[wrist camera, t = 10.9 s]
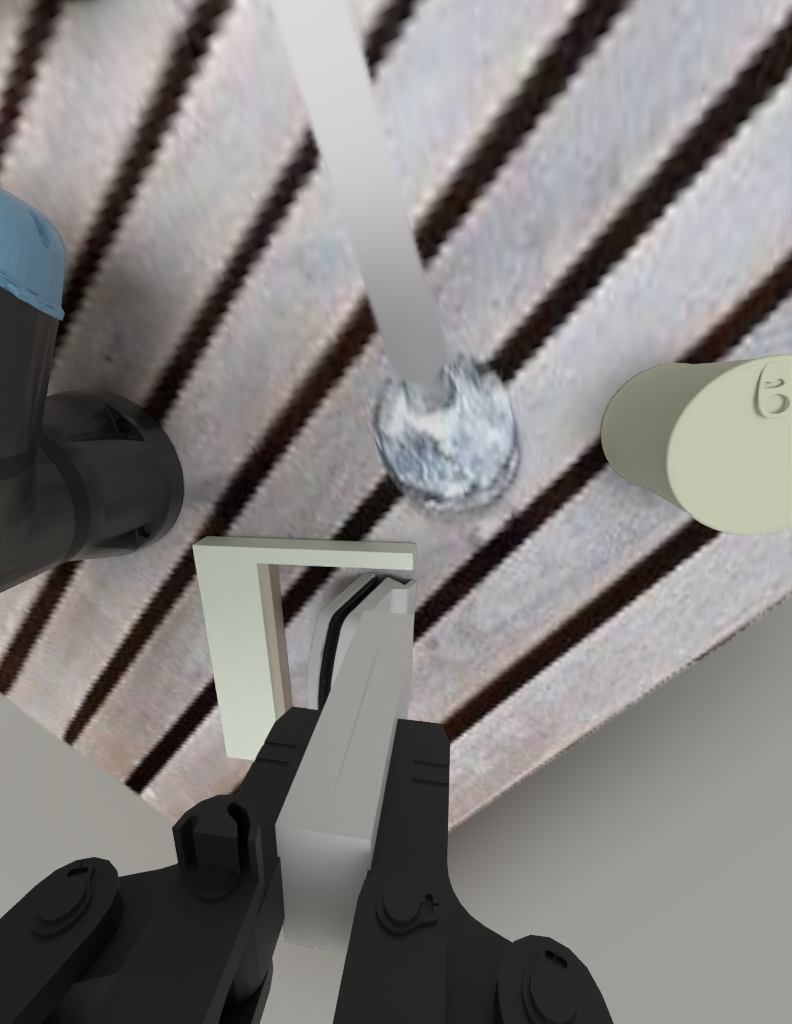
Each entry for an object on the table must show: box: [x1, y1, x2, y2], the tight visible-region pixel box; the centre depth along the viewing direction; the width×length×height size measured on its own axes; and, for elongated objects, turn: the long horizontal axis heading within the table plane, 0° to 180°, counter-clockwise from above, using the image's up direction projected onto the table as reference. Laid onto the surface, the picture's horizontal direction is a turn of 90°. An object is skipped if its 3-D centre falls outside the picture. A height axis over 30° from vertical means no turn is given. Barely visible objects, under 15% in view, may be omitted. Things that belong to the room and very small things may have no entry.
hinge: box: [307, 573, 417, 710], centre depth 39 cm, size 17×5×10 cm, turn 177°
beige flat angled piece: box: [192, 536, 416, 760], centre depth 42 cm, size 20×24×2 cm
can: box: [601, 354, 792, 535], centre depth 27 cm, size 9×9×12 cm
